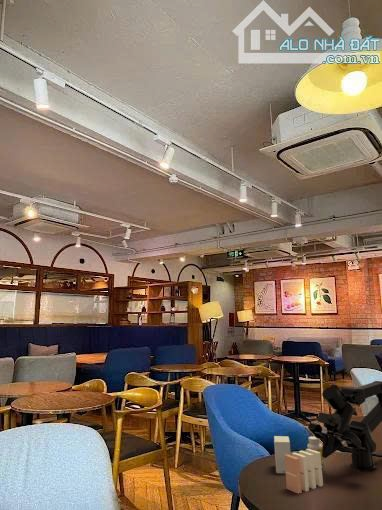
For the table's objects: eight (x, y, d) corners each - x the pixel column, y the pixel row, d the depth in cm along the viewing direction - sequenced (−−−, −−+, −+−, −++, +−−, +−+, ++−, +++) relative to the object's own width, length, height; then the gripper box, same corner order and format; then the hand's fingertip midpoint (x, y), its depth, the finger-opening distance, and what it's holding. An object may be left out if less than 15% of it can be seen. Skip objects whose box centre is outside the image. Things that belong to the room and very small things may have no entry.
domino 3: (304, 483, 126) (301, 450, 128) (316, 488, 122) (313, 454, 124) (301, 484, 125) (298, 451, 127) (313, 489, 121) (310, 455, 123)
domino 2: (297, 485, 125) (294, 452, 126) (309, 490, 120) (306, 456, 122) (294, 486, 124) (291, 453, 126) (305, 491, 120) (303, 457, 122)
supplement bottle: (324, 464, 143) (321, 436, 145) (324, 469, 138) (321, 440, 139) (309, 463, 144) (306, 435, 146) (308, 468, 139) (306, 439, 141)
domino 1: (289, 487, 123) (287, 454, 125) (301, 493, 119) (299, 458, 121) (286, 488, 122) (284, 455, 124) (298, 494, 118) (295, 459, 120)
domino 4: (311, 480, 128) (308, 448, 130) (323, 485, 124) (320, 452, 126) (308, 481, 127) (305, 449, 129) (320, 486, 123) (317, 453, 125)
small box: (292, 474, 134) (290, 442, 136) (276, 473, 135) (274, 441, 137) (291, 466, 142) (289, 435, 144) (275, 465, 143) (273, 435, 145)
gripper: (308, 399, 143) (289, 435, 135) (352, 407, 128) (333, 449, 120) (324, 418, 146) (307, 455, 138) (369, 428, 130) (352, 471, 122)
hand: (323, 457), depth 129 cm, fingers closed
